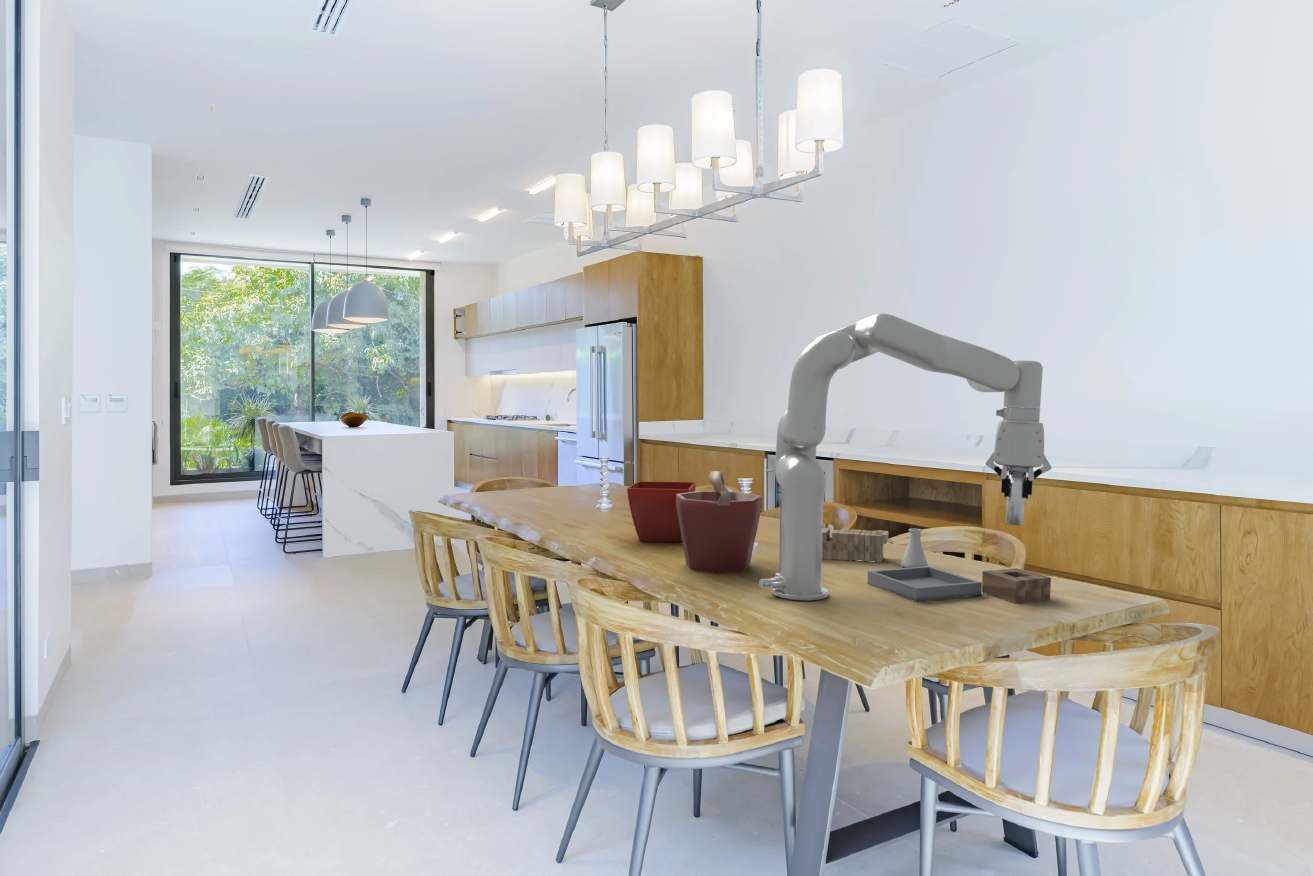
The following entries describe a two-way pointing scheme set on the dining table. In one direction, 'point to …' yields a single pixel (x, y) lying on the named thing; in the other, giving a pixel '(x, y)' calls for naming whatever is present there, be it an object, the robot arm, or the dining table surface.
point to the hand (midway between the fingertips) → (1016, 496)
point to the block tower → (853, 544)
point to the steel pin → (1016, 495)
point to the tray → (924, 583)
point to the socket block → (1016, 585)
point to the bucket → (718, 527)
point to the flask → (914, 551)
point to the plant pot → (657, 509)
